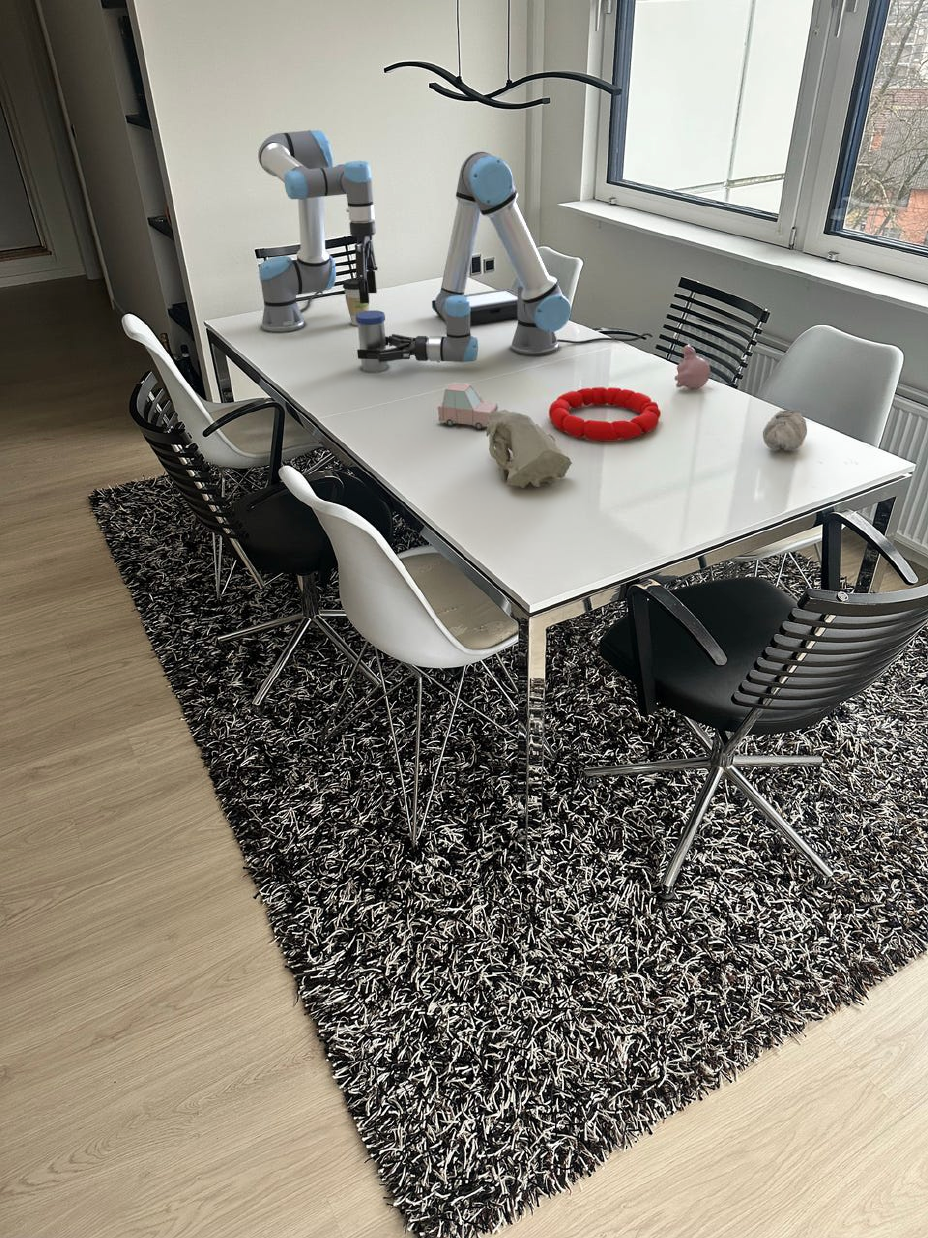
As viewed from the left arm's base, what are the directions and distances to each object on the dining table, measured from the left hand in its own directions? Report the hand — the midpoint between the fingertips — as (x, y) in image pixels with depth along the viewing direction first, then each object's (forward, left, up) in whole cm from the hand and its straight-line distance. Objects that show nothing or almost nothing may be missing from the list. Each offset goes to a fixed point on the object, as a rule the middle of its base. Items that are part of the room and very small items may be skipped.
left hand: (368, 297), depth 274 cm
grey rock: (+86, +28, -22) cm, 93 cm away
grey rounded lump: (+90, +96, -22) cm, 133 cm away
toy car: (+53, +21, -22) cm, 61 cm away
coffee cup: (-50, -1, -22) cm, 55 cm away
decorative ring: (+61, +57, -22) cm, 87 cm away
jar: (0, 0, -22) cm, 22 cm away
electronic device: (-46, +45, -22) cm, 68 cm away
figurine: (+43, +89, -22) cm, 102 cm away
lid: (0, 0, -5) cm, 5 cm away
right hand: (-1, -3, -15) cm, 16 cm away
